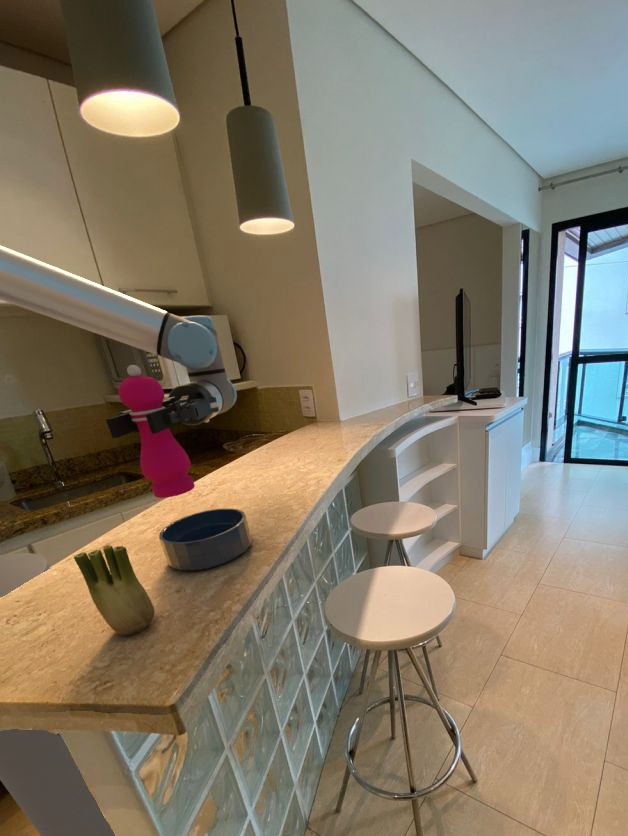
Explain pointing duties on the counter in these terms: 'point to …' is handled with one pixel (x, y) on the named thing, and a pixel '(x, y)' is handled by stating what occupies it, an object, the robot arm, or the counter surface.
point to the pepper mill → (155, 437)
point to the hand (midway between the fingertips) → (131, 426)
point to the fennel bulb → (116, 589)
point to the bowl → (205, 539)
